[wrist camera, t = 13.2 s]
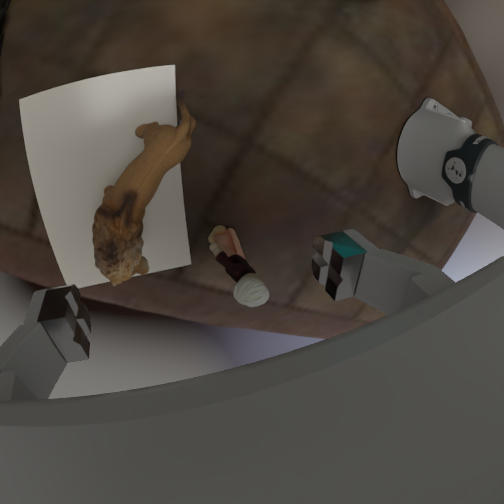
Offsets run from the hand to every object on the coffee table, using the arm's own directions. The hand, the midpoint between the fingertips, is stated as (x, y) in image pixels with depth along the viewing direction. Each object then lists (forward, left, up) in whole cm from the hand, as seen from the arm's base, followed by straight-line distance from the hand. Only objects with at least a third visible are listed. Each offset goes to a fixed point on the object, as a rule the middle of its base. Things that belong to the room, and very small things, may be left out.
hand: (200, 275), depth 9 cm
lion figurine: (+1, +1, -19) cm, 19 cm away
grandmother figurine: (-7, +13, -25) cm, 29 cm away
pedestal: (+5, +2, -24) cm, 25 cm away
